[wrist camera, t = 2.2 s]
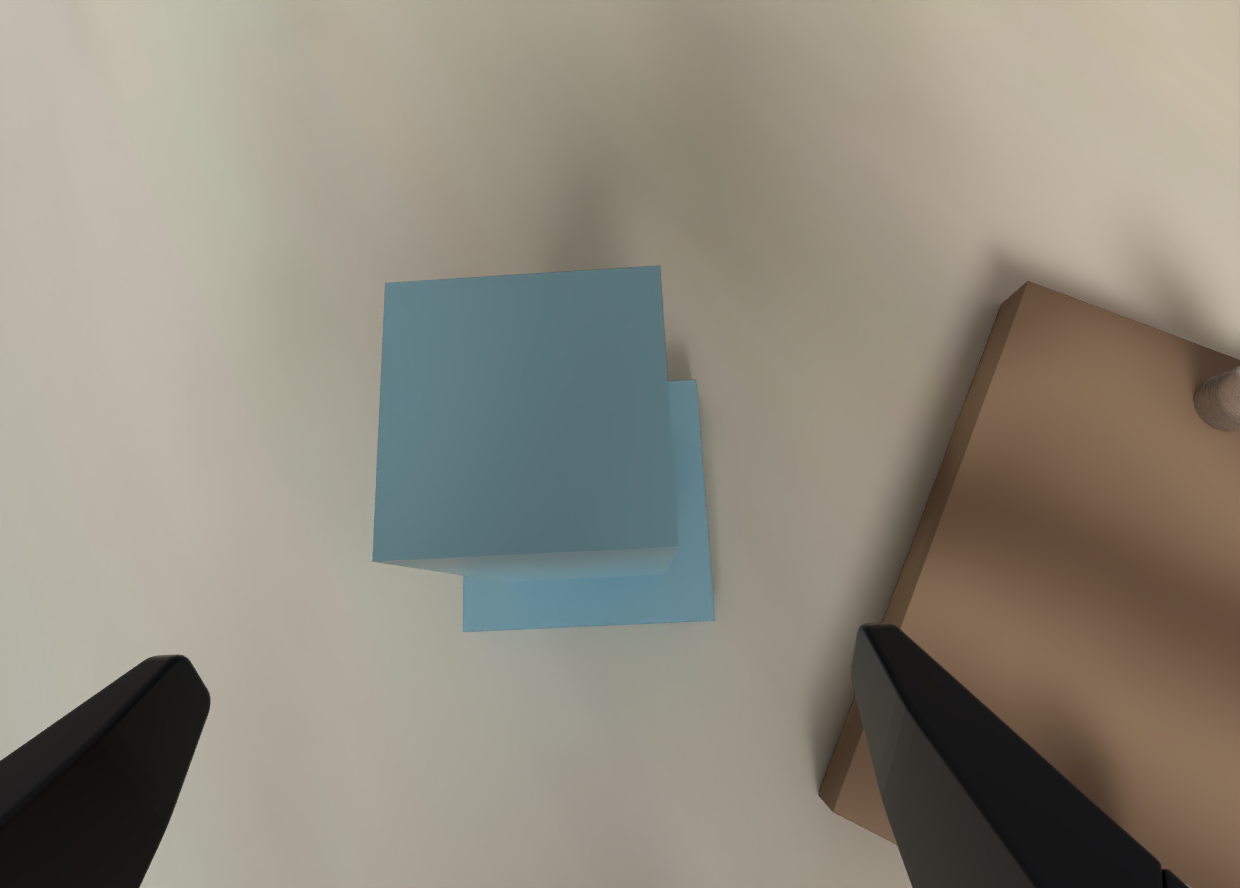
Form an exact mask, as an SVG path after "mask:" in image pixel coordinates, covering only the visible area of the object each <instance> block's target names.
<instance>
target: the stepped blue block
mask: <svg viewBox="0 0 1240 888" xmlns="http://www.w3.org/2000/svg"><path fill="white" fill-rule="evenodd" d="M372 562H379V563H385V564H392V565H399V566H405V567H412V568H418V569H425V570H432V571H438V572H445V573H452V574H458V575H464V580H463V632H475V631H497V630H519V629H541V628H563V627H585V626H607V625H629V624H651V623H673V622H696V621H715V616H714V603H713V590H712V577H711V564H710V551H709V538H708V525H707V512H706V499H705V486H704V473H703V460H702V447H701V434H700V421H699V408H698V396H697V383H696V380H684V381H668V376H667V361H666V346H665V331H664V316H663V301H662V286H661V271H660V266H645V267H629V268H613V269H598V270H582V271H566V272H550V273H535V274H519V275H503V276H488V277H472V278H456V279H440V280H425V281H409V282H393V283H385V299H384V321H383V342H382V364H381V386H380V408H379V429H378V451H377V473H376V494H375V516H374V538H373V560H372Z"/></svg>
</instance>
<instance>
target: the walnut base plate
mask: <svg viewBox="0 0 1240 888" xmlns="http://www.w3.org/2000/svg"><path fill="white" fill-rule="evenodd" d="M1237 367H1240V360H1238V359H1235V358H1233V357H1230V356H1227V355H1224V354H1222V353H1219V352H1216V351H1214V350H1211V349H1208V348H1206V347H1203V346H1200V345H1198V344H1195V343H1192V342H1190V341H1187V340H1184V339H1182V338H1179V337H1176V336H1174V335H1171V334H1168V333H1166V332H1163V331H1160V330H1158V329H1155V328H1152V327H1150V326H1147V325H1144V324H1142V323H1139V322H1136V321H1134V320H1131V319H1128V318H1126V317H1123V316H1120V315H1118V314H1115V313H1112V312H1110V311H1107V310H1104V309H1102V308H1099V307H1096V306H1094V305H1091V304H1088V303H1086V302H1083V301H1080V300H1078V299H1075V298H1072V297H1070V296H1067V295H1064V294H1062V293H1059V292H1056V291H1054V290H1051V289H1048V288H1046V287H1043V286H1040V285H1038V284H1035V283H1032V282H1030V281H1028V282H1026V283H1025V284H1024V285H1023V286H1022V287H1021V288H1019V289H1018V290H1017V291H1016V292H1015V293H1014V294H1012V295H1011V296H1010V297H1009V298H1008V299H1007V300H1005V301H1004V302H1003V303H1002V305H1001V307H1000V310H999V313H998V315H997V318H996V321H995V323H994V326H993V329H992V331H991V334H990V337H989V339H988V342H987V345H986V347H985V350H984V353H983V355H982V358H981V361H980V363H979V366H978V369H977V371H976V374H975V377H974V379H973V382H972V385H971V387H970V390H969V393H968V395H967V398H966V401H965V403H964V406H963V409H962V412H961V414H960V417H959V420H958V422H957V425H956V428H955V430H954V433H953V436H952V438H951V441H950V444H949V446H948V449H947V452H946V454H945V457H944V460H943V462H942V465H941V468H940V470H939V473H938V476H937V478H936V481H935V484H934V486H933V489H932V492H931V494H930V497H929V500H928V502H927V505H926V508H925V510H924V513H923V516H922V518H921V521H920V524H919V526H918V529H917V532H916V534H915V537H914V540H913V542H912V545H911V548H910V550H909V553H908V556H907V558H906V561H905V564H904V566H903V569H902V572H901V575H900V577H899V580H898V583H897V585H896V588H895V591H894V593H893V596H892V599H891V601H890V604H889V607H888V609H887V612H886V615H885V617H884V620H883V623H891V624H894V625H896V626H897V627H898V628H900V629H901V630H902V631H903V632H904V633H905V634H906V635H907V636H908V637H910V638H911V639H912V640H913V641H914V642H915V643H916V644H917V645H919V646H920V647H921V648H922V649H923V650H924V651H925V652H926V653H928V654H929V655H930V656H931V657H932V658H933V659H934V660H935V661H936V662H938V663H939V664H940V665H941V666H942V667H943V668H944V669H945V670H947V671H948V672H949V673H950V674H951V675H952V676H953V677H954V678H955V679H957V680H958V681H959V682H960V683H961V684H962V685H963V686H964V687H966V688H967V689H968V690H969V691H970V692H971V693H972V694H973V695H974V696H976V697H977V698H978V699H979V700H980V701H981V702H982V703H983V704H985V705H986V706H987V707H988V708H989V709H990V710H991V711H992V712H993V713H995V714H996V715H997V716H998V717H999V718H1000V719H1001V720H1002V721H1004V722H1005V723H1006V724H1007V725H1008V726H1009V727H1010V728H1011V729H1012V730H1014V731H1015V732H1016V733H1017V734H1018V735H1019V736H1020V737H1021V738H1023V739H1024V740H1025V741H1026V742H1027V743H1028V744H1029V745H1030V746H1031V747H1033V748H1034V749H1035V750H1036V751H1037V752H1038V753H1039V754H1040V755H1042V756H1043V757H1044V758H1045V759H1046V760H1047V761H1048V762H1049V763H1051V764H1052V765H1053V766H1054V767H1055V768H1056V769H1057V770H1058V771H1059V772H1061V773H1062V774H1063V775H1064V776H1065V777H1066V778H1067V779H1068V780H1070V781H1071V782H1072V783H1073V784H1074V785H1075V786H1076V787H1077V788H1078V789H1080V790H1081V791H1082V792H1083V793H1084V794H1085V795H1086V796H1087V797H1089V798H1090V799H1091V800H1092V801H1093V802H1094V803H1095V804H1096V805H1097V806H1099V807H1100V808H1101V809H1102V810H1103V811H1104V812H1105V813H1106V814H1108V815H1109V816H1110V817H1111V818H1112V819H1113V820H1114V821H1115V822H1116V823H1118V824H1119V825H1120V826H1121V827H1122V828H1123V829H1124V830H1125V831H1127V832H1128V833H1129V834H1130V835H1131V836H1132V837H1133V838H1134V839H1135V840H1137V841H1138V842H1139V843H1140V844H1141V845H1142V846H1143V847H1144V848H1146V849H1147V850H1148V851H1149V852H1150V853H1151V854H1152V855H1153V856H1155V857H1156V858H1157V859H1158V860H1159V861H1160V863H1161V865H1162V869H1169V870H1170V871H1172V872H1173V873H1174V874H1175V875H1176V876H1177V877H1178V878H1180V879H1181V880H1182V881H1183V882H1184V883H1186V884H1187V885H1189V886H1190V887H1191V888H1240V430H1239V431H1235V432H1223V431H1219V430H1216V429H1214V428H1212V427H1210V426H1209V425H1207V424H1206V423H1205V422H1204V421H1203V420H1202V419H1201V418H1200V417H1199V415H1198V414H1197V412H1196V410H1195V407H1194V403H1193V396H1194V392H1195V390H1196V388H1197V387H1198V386H1199V384H1201V383H1202V382H1203V381H1205V380H1207V379H1210V378H1212V377H1215V376H1217V375H1220V374H1222V373H1225V372H1227V371H1230V370H1232V369H1235V368H1237ZM818 795H819V796H820V798H821V799H822V800H823V801H824V802H825V803H826V804H827V806H828V807H829V808H830V809H831V810H832V811H833V812H834V813H836V814H838V815H840V816H842V817H844V818H846V819H848V820H850V821H852V822H854V823H856V824H857V825H859V826H861V827H863V828H865V829H867V830H869V831H871V832H873V833H875V834H877V835H879V836H881V837H883V838H885V839H887V840H889V841H891V842H892V843H894V844H896V845H897V843H896V840H895V837H894V835H893V832H892V829H891V826H890V824H889V821H888V818H887V815H886V812H885V809H884V806H883V803H882V799H881V796H880V792H879V788H878V784H877V780H876V776H875V772H874V768H873V764H872V760H871V756H870V752H869V748H868V743H867V739H866V735H865V731H864V727H863V723H862V719H861V715H860V711H859V707H858V702H857V698H856V695H855V697H854V700H853V703H852V705H851V708H850V711H849V713H848V716H847V719H846V721H845V724H844V727H843V729H842V732H841V735H840V738H839V740H838V743H837V746H836V748H835V751H834V754H833V756H832V759H831V762H830V764H829V767H828V770H827V772H826V775H825V778H824V780H823V783H822V786H821V788H820V791H819V794H818Z"/></svg>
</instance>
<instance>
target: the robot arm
mask: <svg viewBox="0 0 1240 888" xmlns="http://www.w3.org/2000/svg"><path fill="white" fill-rule="evenodd" d="M851 672H852V681H853V686H854V690H855V694H856V698H857V702H858V707H859V711H860V715H861V719H862V723H863V727H864V731H865V735H866V739H867V743H868V748H869V752H870V756H871V760H872V764H873V768H874V772H875V776H876V780H877V784H878V788H879V792H880V796H881V799H882V803H883V806H884V809H885V812H886V815H887V818H888V821H889V824H890V826H891V829H892V832H893V835H894V837H895V840H896V843H897V846H898V849H899V851H900V854H901V857H902V860H903V862H904V865H905V868H906V871H907V874H908V876H909V879H910V882H911V885H912V887H913V888H1190V887H1188V886H1187V885H1186V884H1185V883H1184V882H1183V881H1182V880H1181V879H1180V878H1178V877H1177V876H1176V875H1175V874H1174V873H1173V872H1172V871H1170V870H1169V869H1162V865H1161V863H1160V861H1159V860H1158V859H1157V858H1156V857H1155V856H1153V855H1152V854H1151V853H1150V852H1149V851H1148V850H1147V849H1146V848H1144V847H1143V846H1142V845H1141V844H1140V843H1139V842H1138V841H1137V840H1135V839H1134V838H1133V837H1132V836H1131V835H1130V834H1129V833H1128V832H1127V831H1125V830H1124V829H1123V828H1122V827H1121V826H1120V825H1119V824H1118V823H1116V822H1115V821H1114V820H1113V819H1112V818H1111V817H1110V816H1109V815H1108V814H1106V813H1105V812H1104V811H1103V810H1102V809H1101V808H1100V807H1099V806H1097V805H1096V804H1095V803H1094V802H1093V801H1092V800H1091V799H1090V798H1089V797H1087V796H1086V795H1085V794H1084V793H1083V792H1082V791H1081V790H1080V789H1078V788H1077V787H1076V786H1075V785H1074V784H1073V783H1072V782H1071V781H1070V780H1068V779H1067V778H1066V777H1065V776H1064V775H1063V774H1062V773H1061V772H1059V771H1058V770H1057V769H1056V768H1055V767H1054V766H1053V765H1052V764H1051V763H1049V762H1048V761H1047V760H1046V759H1045V758H1044V757H1043V756H1042V755H1040V754H1039V753H1038V752H1037V751H1036V750H1035V749H1034V748H1033V747H1031V746H1030V745H1029V744H1028V743H1027V742H1026V741H1025V740H1024V739H1023V738H1021V737H1020V736H1019V735H1018V734H1017V733H1016V732H1015V731H1014V730H1012V729H1011V728H1010V727H1009V726H1008V725H1007V724H1006V723H1005V722H1004V721H1002V720H1001V719H1000V718H999V717H998V716H997V715H996V714H995V713H993V712H992V711H991V710H990V709H989V708H988V707H987V706H986V705H985V704H983V703H982V702H981V701H980V700H979V699H978V698H977V697H976V696H974V695H973V694H972V693H971V692H970V691H969V690H968V689H967V688H966V687H964V686H963V685H962V684H961V683H960V682H959V681H958V680H957V679H955V678H954V677H953V676H952V675H951V674H950V673H949V672H948V671H947V670H945V669H944V668H943V667H942V666H941V665H940V664H939V663H938V662H936V661H935V660H934V659H933V658H932V657H931V656H930V655H929V654H928V653H926V652H925V651H924V650H923V649H922V648H921V647H920V646H919V645H917V644H916V643H915V642H914V641H913V640H912V639H911V638H910V637H908V636H907V635H906V634H905V633H904V632H903V631H902V630H901V629H900V628H898V627H897V626H896V625H894V624H891V623H870V624H863V625H861V626H860V628H859V630H858V633H857V639H856V644H855V650H854V655H853V661H852V670H851ZM209 709H210V694H209V691H208V689H207V688H206V686H205V684H204V683H203V681H202V680H201V678H200V676H199V675H198V673H197V671H196V670H195V668H194V666H193V665H192V663H191V661H190V660H189V659H188V658H187V657H185V656H183V655H159V656H153V657H150V658H148V659H146V660H144V661H143V662H141V663H140V664H138V665H137V666H136V667H134V668H133V669H131V670H130V671H128V672H127V673H125V674H124V675H123V676H121V677H120V678H118V679H117V680H115V681H114V682H113V683H111V684H110V685H108V686H107V687H105V688H104V689H103V690H101V691H100V692H98V693H97V694H95V695H94V696H93V697H91V698H90V699H88V700H87V701H85V702H84V703H83V704H81V705H80V706H78V707H77V708H75V709H74V710H73V711H71V712H70V713H68V714H67V715H65V716H64V717H63V718H61V719H60V720H58V721H57V722H55V723H54V724H52V725H51V726H50V727H48V728H47V729H45V730H44V731H42V732H41V733H40V734H38V735H37V736H35V737H34V738H32V739H31V740H30V741H28V742H27V743H25V744H24V745H22V746H21V747H20V748H18V749H17V750H15V751H14V752H12V753H11V754H10V755H8V756H7V757H5V758H4V759H2V760H1V761H0V888H139V887H140V885H141V883H142V881H143V879H144V877H145V874H146V872H147V870H148V868H149V866H150V864H151V862H152V859H153V857H154V855H155V853H156V851H157V849H158V846H159V844H160V842H161V840H162V837H163V835H164V833H165V831H166V828H167V826H168V823H169V821H170V818H171V816H172V813H173V810H174V808H175V805H176V803H177V800H178V797H179V794H180V791H181V789H182V786H183V783H184V780H185V777H186V775H187V772H188V769H189V766H190V763H191V761H192V758H193V755H194V752H195V749H196V747H197V744H198V741H199V738H200V735H201V733H202V730H203V727H204V724H205V722H206V719H207V716H208V713H209Z"/></svg>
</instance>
